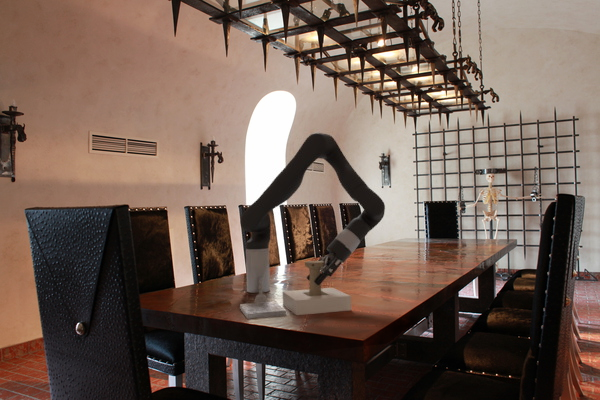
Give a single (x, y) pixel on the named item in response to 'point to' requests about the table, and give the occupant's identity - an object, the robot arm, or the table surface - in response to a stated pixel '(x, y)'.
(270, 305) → the white flat slab
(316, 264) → the handle
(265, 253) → the chalice
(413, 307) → the table surface
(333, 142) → the robot arm
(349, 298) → the socket block
